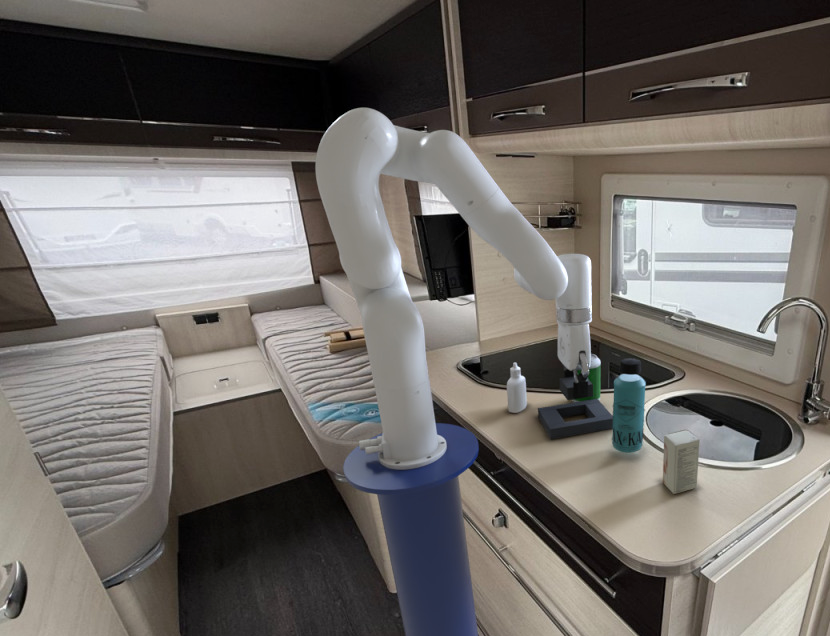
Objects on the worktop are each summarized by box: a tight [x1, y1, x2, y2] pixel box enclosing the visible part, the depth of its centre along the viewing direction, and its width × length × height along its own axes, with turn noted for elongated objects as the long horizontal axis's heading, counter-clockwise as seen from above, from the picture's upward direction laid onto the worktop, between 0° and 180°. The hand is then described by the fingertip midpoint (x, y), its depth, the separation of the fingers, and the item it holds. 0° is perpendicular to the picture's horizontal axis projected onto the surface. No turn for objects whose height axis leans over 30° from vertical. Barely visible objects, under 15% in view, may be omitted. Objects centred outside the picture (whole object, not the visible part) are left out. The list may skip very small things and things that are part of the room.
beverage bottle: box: [611, 357, 647, 454], centre depth 93 cm, size 6×7×20 cm
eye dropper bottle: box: [506, 362, 528, 414], centre depth 113 cm, size 4×6×12 cm
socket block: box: [537, 399, 613, 440], centre depth 108 cm, size 15×11×2 cm
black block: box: [559, 376, 593, 401], centre depth 105 cm, size 6×6×3 cm
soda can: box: [571, 353, 602, 403], centre depth 117 cm, size 8×8×12 cm
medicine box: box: [662, 428, 701, 495], centre depth 84 cm, size 5×4×10 cm
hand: (575, 391), depth 106 cm, fingers closed on black block, 6 cm apart
